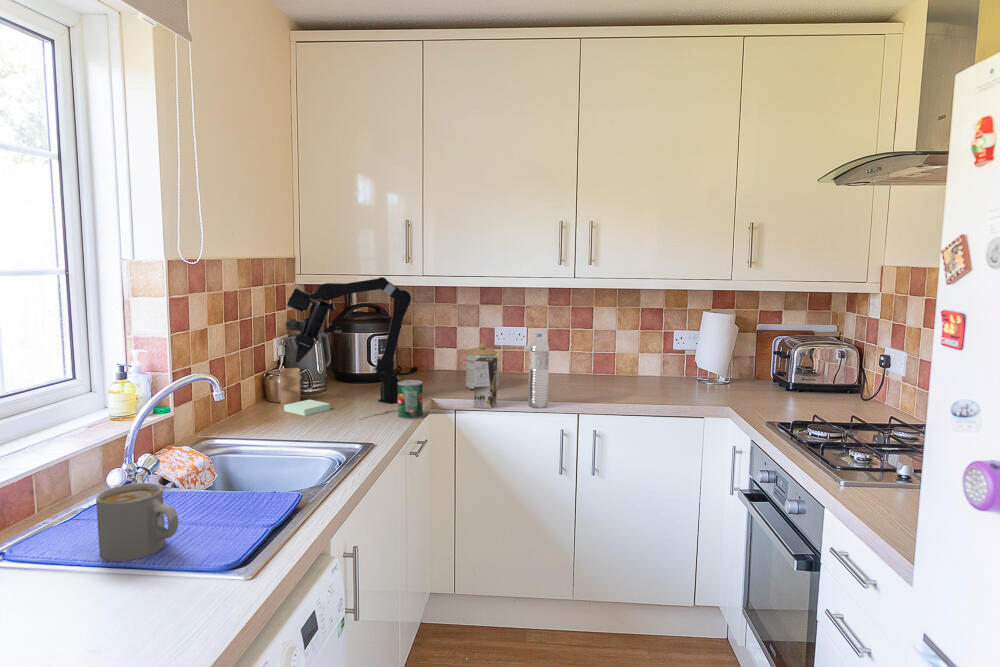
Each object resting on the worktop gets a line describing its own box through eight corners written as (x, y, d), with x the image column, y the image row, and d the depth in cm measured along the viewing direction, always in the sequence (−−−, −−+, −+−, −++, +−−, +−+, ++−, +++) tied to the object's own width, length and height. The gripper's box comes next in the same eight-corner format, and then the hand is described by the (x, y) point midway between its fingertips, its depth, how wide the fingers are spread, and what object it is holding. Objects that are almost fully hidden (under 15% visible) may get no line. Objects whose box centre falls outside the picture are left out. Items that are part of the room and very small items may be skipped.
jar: (467, 384, 261) (467, 340, 259) (499, 385, 260) (500, 341, 258) (464, 391, 248) (464, 345, 246) (498, 391, 248) (499, 345, 245)
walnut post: (300, 403, 224) (299, 367, 222) (300, 407, 218) (299, 370, 217) (281, 404, 222) (280, 368, 221) (281, 408, 217) (280, 371, 215)
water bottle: (541, 409, 220) (543, 335, 217) (524, 406, 224) (525, 334, 221) (551, 405, 226) (552, 333, 223) (534, 403, 230) (535, 332, 227)
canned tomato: (427, 416, 208) (427, 382, 207) (406, 420, 203) (406, 385, 202) (413, 412, 214) (413, 379, 213) (392, 415, 209) (392, 381, 208)
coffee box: (491, 408, 220) (492, 361, 218) (473, 407, 221) (473, 360, 220) (497, 402, 229) (497, 357, 227) (479, 401, 230) (479, 356, 228)
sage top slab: (330, 409, 211) (329, 403, 210) (304, 415, 203) (304, 409, 202) (309, 405, 216) (309, 399, 216) (284, 411, 208) (283, 404, 208)
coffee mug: (85, 555, 111) (81, 498, 110) (136, 532, 120) (133, 479, 119) (145, 569, 106) (142, 510, 105) (193, 544, 116) (190, 489, 115)
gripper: (297, 306, 230) (280, 347, 231) (289, 311, 212) (270, 355, 212) (327, 318, 232) (310, 359, 233) (322, 324, 214) (303, 368, 215)
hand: (298, 360), depth 223 cm, fingers open, 9 cm apart
